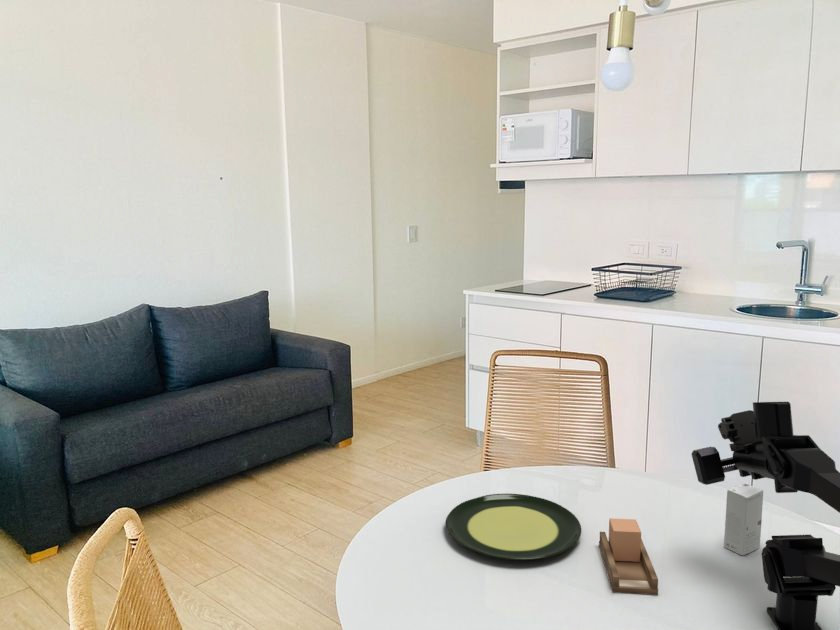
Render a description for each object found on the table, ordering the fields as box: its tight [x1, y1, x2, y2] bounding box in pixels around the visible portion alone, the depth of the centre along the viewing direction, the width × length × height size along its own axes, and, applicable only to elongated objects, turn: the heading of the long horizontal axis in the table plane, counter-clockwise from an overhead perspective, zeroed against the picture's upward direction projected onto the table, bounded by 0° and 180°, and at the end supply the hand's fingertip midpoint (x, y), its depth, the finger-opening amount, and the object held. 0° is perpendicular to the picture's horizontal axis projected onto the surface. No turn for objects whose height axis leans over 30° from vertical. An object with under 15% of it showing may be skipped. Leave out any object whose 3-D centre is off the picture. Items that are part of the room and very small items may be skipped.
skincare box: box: [723, 483, 764, 556], centre depth 130 cm, size 6×4×12 cm
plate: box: [445, 493, 582, 561], centre depth 138 cm, size 28×28×2 cm
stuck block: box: [608, 517, 642, 562], centre depth 126 cm, size 5×5×6 cm
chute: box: [598, 531, 659, 596], centre depth 123 cm, size 16×8×3 cm, turn 173°
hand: (723, 453), depth 130 cm, fingers open, 9 cm apart
